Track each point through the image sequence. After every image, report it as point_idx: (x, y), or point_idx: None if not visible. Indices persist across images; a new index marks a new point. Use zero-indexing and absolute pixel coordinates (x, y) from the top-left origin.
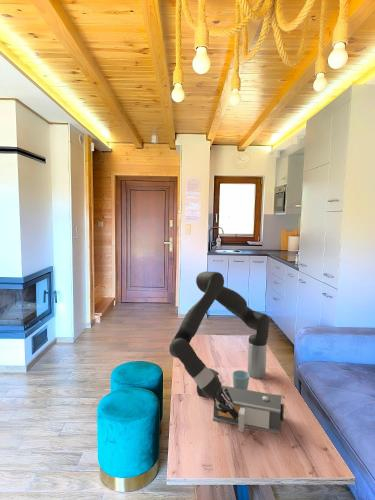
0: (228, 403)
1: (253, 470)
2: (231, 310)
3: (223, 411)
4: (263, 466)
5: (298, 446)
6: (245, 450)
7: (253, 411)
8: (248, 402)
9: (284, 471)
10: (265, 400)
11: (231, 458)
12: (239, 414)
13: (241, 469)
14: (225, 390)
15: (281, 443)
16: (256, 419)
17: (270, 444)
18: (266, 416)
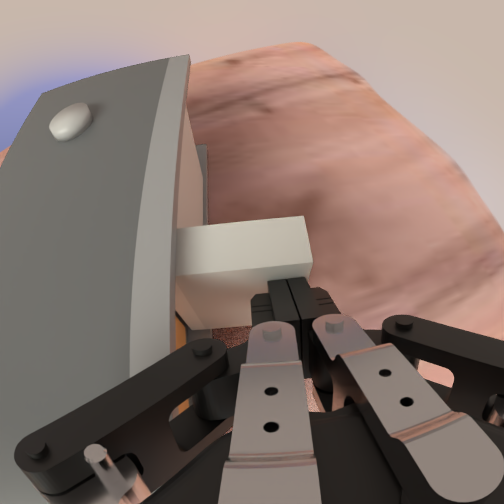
0: (375, 346)
1: (468, 204)
2: None
3: (440, 388)
4: (430, 177)
5: (255, 100)
6: (401, 253)
7: (181, 188)
8: (120, 204)
9: (401, 125)
10: (90, 115)
11: (477, 295)
12: (310, 257)
13: (492, 242)
14: (65, 476)
15: (267, 137)
16: (194, 206)
17: (296, 167)
18: (190, 135)
